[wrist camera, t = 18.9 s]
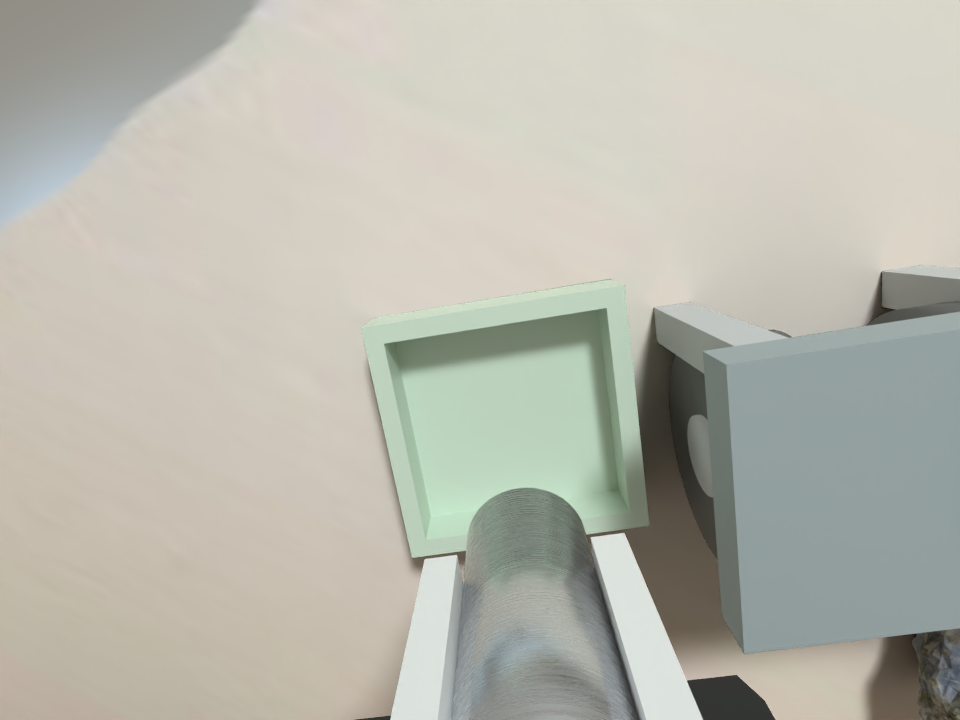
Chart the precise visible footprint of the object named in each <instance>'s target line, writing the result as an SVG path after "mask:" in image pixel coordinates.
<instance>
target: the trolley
mask: <svg viewBox="0 0 960 720" xmlns="http://www.w3.org/2000/svg"><path fill="white" fill-rule="evenodd" d="M882 307H885V308H890V309H895V310H894V311H890V312H887V313H884V314H882V315H880V316H878V317H877V318H875V319H874V320H872V321H871V322H870V323H869V324H868V325H867V326H863V327H857V328H850V329H844V330H837V331H831V332H824V333H818V334H811V335H805V336H798V337H791V336H790V335H787V334H785V333H783V332H781V331H776V330H766V329H763V328H760V327H757V326H755V325H752V324H749V323H746V322H744V321H741V320H738V319H735V318H733V317H730V316H727V315H724V314H721V313H719V312H716V311H713V310H710V309H708V308H705V307H702V306H699V305H697V304H694V303H691V302H686V303H680V304H674V305H668V306H661V307H655V308H654V315H655V326H656V337H657V342H658V343H659V344H661V345H662V346H664V347H665V348H667V349H668V350H670V351H671V352H673V353H674V354H676V355H675V357H674V360H673V364H672V368H671V374H670V386H669V405H670V418H671V428H672V435H673V441H674V447H675V452H676V457H677V461H678V466H679V470H680V474H681V477H682V481H683V484H684V488H685V491H686V494H687V497H688V500H689V503H690V506H691V508H692V511H693V514H694V516H695V519H696V521H697V523H698V526H699V528H700V530H701V532H702V534H703V536H704V538H705V540H706V542H707V544H708V546H709V547H710V549H711V550H712V552H713V554H714V555H715V557H716V558H717V559H718V570H719V584H720V597H721V611H722V617H723V619H724V621H725V622H726V624H727V626H728V627H729V629H730V631H731V632H732V634H733V636H734V637H735V639H736V641H737V642H738V644H739V646H740V648H741V649H742V651H743V653H744V654H747V653H756V652H764V651H773V650H781V649H789V648H798V647H806V646H815V645H823V644H832V643H840V642H848V641H857V640H865V639H874V638H882V637H891V636H899V635H907V634H916V633H924V632H933V631H941V630H950V629H958V628H960V268H948V267H936V266H923V265H918V266H912V267H905V268H899V269H893V270H887V271H882Z"/></svg>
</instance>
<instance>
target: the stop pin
mask: <svg viewBox="0 0 960 720" xmlns="http://www.w3.org/2000/svg"><path fill="white" fill-rule="evenodd" d="M451 720H638V716H637V713H636V709H635V706H634V702H633V699H632V695H631V692H630V689H629V685H628V682H627V678H626V675H625V671H624V668H623V664H622V661H621V658H620V654H619V651H618V647H617V644H616V640H615V637H614V633H613V630H612V627H611V623H610V620H609V616H608V613H607V609H606V606H605V602H604V599H603V595H602V592H601V589H600V585H599V582H598V578H597V575H596V571H595V567H594V559H593V556H592V553H591V549H590V546H589V542H588V539H587V536H586V532H585V529H584V526H583V523H582V520H581V519H580V517H579V515H578V513H577V512H576V511H575V509H574V508H573V507H572V506H571V505H570V504H569V503H568V502H567V501H565V500H564V499H563V498H561V497H559V496H558V495H556V494H554V493H551V492H549V491H546V490H542V489H537V488H516V489H511V490H508V491H504V492H502V493H500V494H497V495H495V496H494V497H492V498H491V499H489V500H488V501H487V502H485V503H484V504H483V505H482V506H481V507H480V508H479V510H478V511H477V512H476V514H475V515H474V517H473V519H472V521H471V523H470V526H469V530H468V536H467V547H466V558H465V568H464V579H463V594H462V605H461V616H460V627H459V638H458V649H457V660H456V671H455V682H454V693H453V703H452V714H451Z"/></svg>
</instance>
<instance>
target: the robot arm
mask: <svg viewBox="0 0 960 720" xmlns="http://www.w3.org/2000/svg"><path fill="white" fill-rule="evenodd" d="M591 544H592V552H593V559H594V567H595V571H596V575H597V578H598V582H599V585H600V589H601V592H602V595H603V599H604V602H605V606H606V609H607V613H608V616H609V620H610V623H611V627H612V630H613V633H614V637H615V640H616V644H617V647H618V651H619V654H620V658H621V661H622V664H623V668H624V671H625V675H626V678H627V682H628V685H629V689H630V692H631V695H632V699H633V702H634V706H635V709H636V713H637V716H638V720H775V718H774V717H773V715H772V713H771V711H770V710H769V708H768V706H767V704H766V703H765V701H764V700H763V699H762V698H761V697H760V696H759V695H758V694H757V693H756V692H755V691H753V690H752V689H751V688H750V687H749V686H748V685H747V684H746V683H745V682H744V681H742V680H741V679H740V678H739V677H738V676H737V675H733V676H724V677H715V678H706V679H697V680H688V681H687V680H686V678H685V676H684V673H683V671H682V668H681V666H680V664H679V661H678V659H677V657H676V654H675V652H674V649H673V647H672V645H671V642H670V640H669V638H668V635H667V633H666V630H665V628H664V626H663V623H662V621H661V619H660V616H659V614H658V611H657V609H656V607H655V604H654V602H653V600H652V597H651V595H650V592H649V590H648V588H647V585H646V583H645V581H644V578H643V576H642V573H641V571H640V569H639V566H638V564H637V562H636V559H635V557H634V555H633V552H632V550H631V547H630V545H629V543H628V540H627V538H626V536H625V533H620V534H612V535H604V536H597V537H591ZM462 594H463V582H462V577H461V572H460V566H459V561H458V556H457V555H452V556H445V557H437V558H429V559H425V560H424V565H423V570H422V574H421V579H420V583H419V588H418V593H417V597H416V602H415V607H414V611H413V616H412V621H411V625H410V630H409V635H408V639H407V644H406V649H405V653H404V658H403V663H402V667H401V672H400V677H399V681H398V686H397V691H396V695H395V700H394V704H393V709H392V714H391V716H384V717H375V718H366V719H357V720H451V714H452V703H453V693H454V682H455V671H456V660H457V649H458V638H459V627H460V616H461V605H462Z"/></svg>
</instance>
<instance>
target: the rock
mask: <svg viewBox="0 0 960 720" xmlns="http://www.w3.org/2000/svg"><path fill="white" fill-rule="evenodd" d="M912 644H913V647H914V649H915V651H916V653H917V657H918V660H919V668H918V673H919V681H920V684H921V690H920V691H919V697H918V704H919V706H920V712H919V714H920V716H921V718H922V720H960V628H958V629H950V630H941V631H933V632H924V633H916V637H915V638H914V639H913V640H912Z"/></svg>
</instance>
